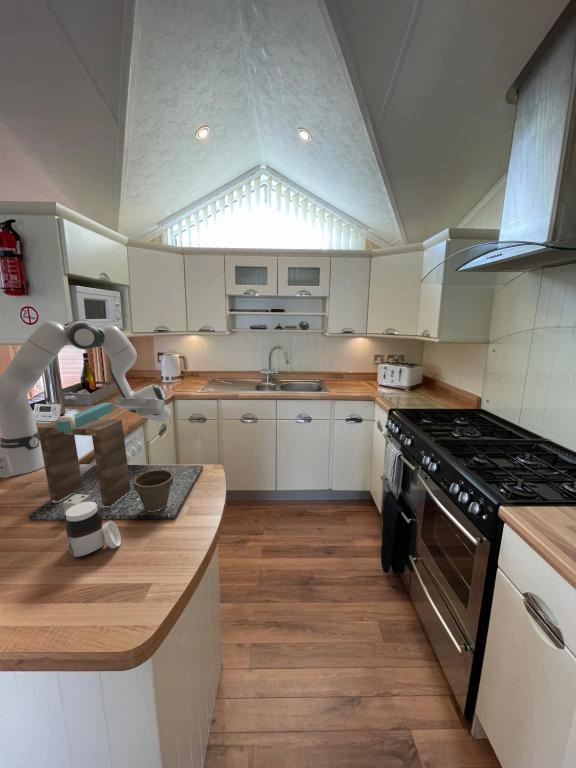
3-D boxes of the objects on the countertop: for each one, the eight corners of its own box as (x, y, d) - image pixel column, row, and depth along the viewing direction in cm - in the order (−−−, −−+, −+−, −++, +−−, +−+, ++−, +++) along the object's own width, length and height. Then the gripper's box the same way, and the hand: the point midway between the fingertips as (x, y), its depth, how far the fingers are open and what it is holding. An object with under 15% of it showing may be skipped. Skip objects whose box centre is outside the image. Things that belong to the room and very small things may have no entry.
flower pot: (183, 499, 110) (180, 471, 107) (160, 519, 99) (157, 488, 97) (153, 495, 113) (150, 467, 111) (128, 514, 102) (124, 483, 100)
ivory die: (65, 517, 101) (62, 501, 100) (78, 508, 106) (75, 492, 105) (79, 519, 100) (77, 502, 99) (92, 509, 105) (89, 493, 104)
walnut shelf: (50, 503, 109) (36, 427, 104) (75, 487, 119) (64, 417, 114) (110, 508, 105) (98, 430, 100) (131, 492, 115) (121, 419, 110)
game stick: (57, 431, 100) (54, 418, 99) (103, 411, 121) (102, 400, 120) (69, 431, 99) (67, 418, 98) (114, 411, 121) (112, 400, 120)
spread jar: (66, 547, 88) (58, 507, 86) (112, 528, 96) (106, 490, 93) (78, 571, 79) (70, 527, 77) (127, 547, 87) (122, 507, 85)
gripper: (127, 400, 153) (106, 391, 140) (168, 400, 149) (151, 391, 136) (124, 413, 151) (103, 405, 138) (165, 414, 147) (148, 406, 134)
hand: (127, 398), depth 137 cm, fingers open, 8 cm apart
